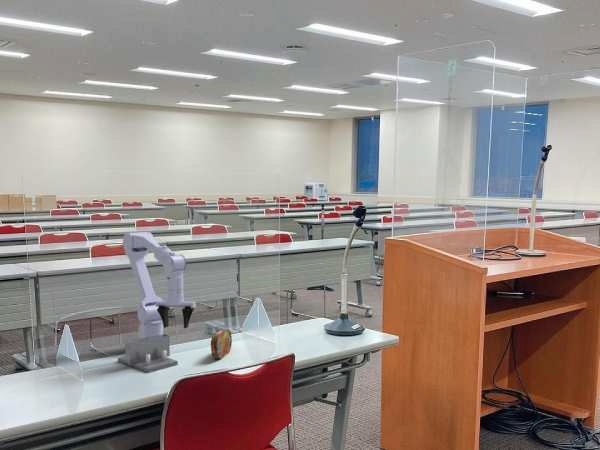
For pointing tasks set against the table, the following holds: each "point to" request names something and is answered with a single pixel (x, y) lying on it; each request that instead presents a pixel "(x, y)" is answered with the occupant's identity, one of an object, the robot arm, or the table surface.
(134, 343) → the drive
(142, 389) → the table surface
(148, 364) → the tray
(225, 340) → the tin
